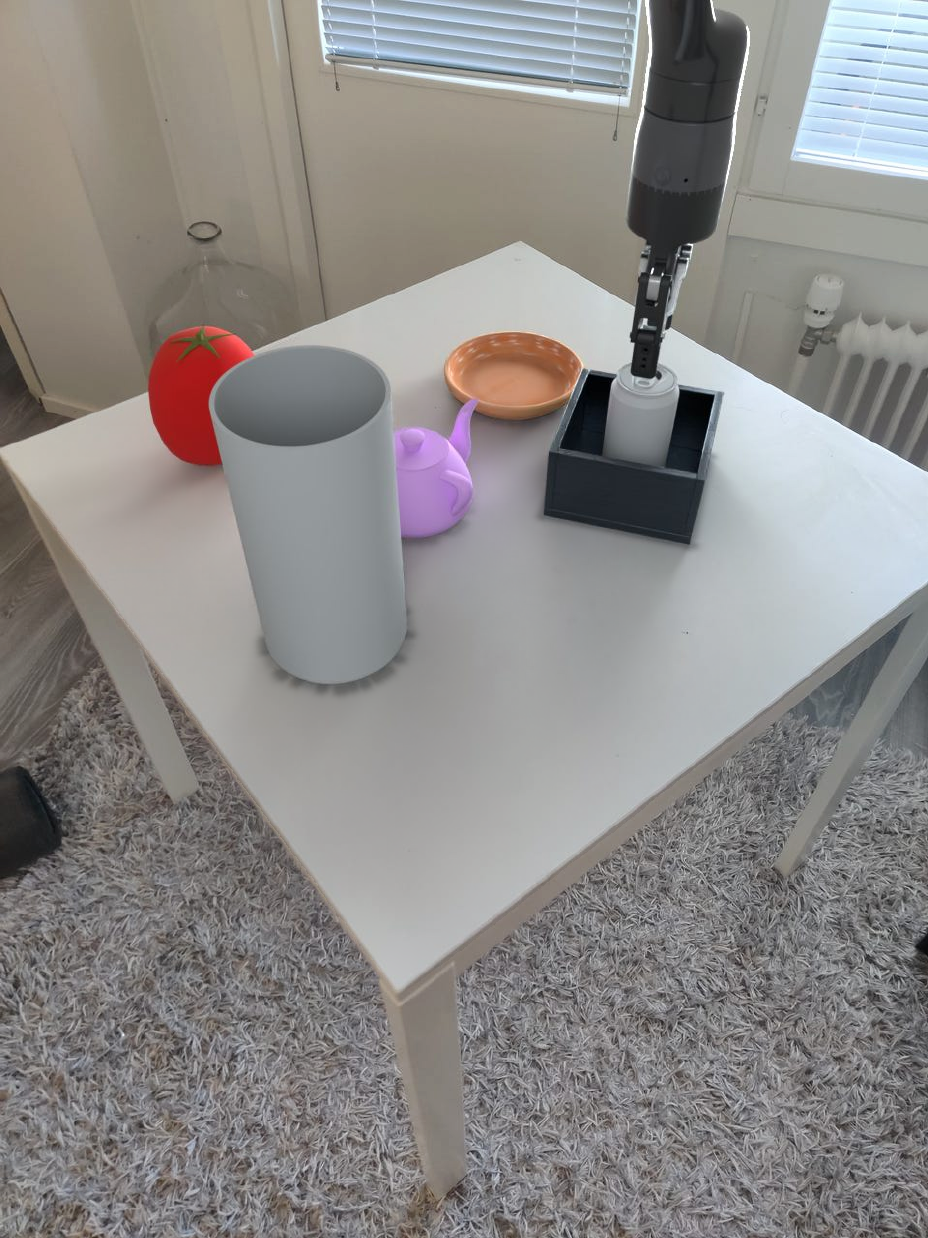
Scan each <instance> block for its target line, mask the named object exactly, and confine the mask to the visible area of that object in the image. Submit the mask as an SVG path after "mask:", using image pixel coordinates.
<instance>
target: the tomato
mask: <svg viewBox="0 0 928 1238" xmlns="http://www.w3.org/2000/svg"><path fill="white" fill-rule="evenodd" d="M255 355H256V354H255V353H254V352H253V351H252V349H251V348H250V346H248V344H247V343H245V341H244V340H242V339H241V338H240V337H239V336H237V334H236V333H231V332H229V331H227V330H225V329H222V328H218V327H215V326H210V325H209V326H207V325H205V324H203V325H202V326H194V327H190V328H186V329H183V330H179V331H176V332H175V333H173V334H172V335H170V336H169V337H168V338H167V339H166V340H165V341H164V342H163V343H162V344H161V345H160V346H159V348H158V350H157V351H156V354H155V356H154V358H153V361H152V364H151V366H150V370H149V374H148V384H147V394H148V402H149V412H150V415H151V419H152V423H153V425H154V427H155V429H156V431H157V433H158V435H159V437H160V439H161V442H163V444H164V445H165V446H166V448H167V449H168V451H169V452H170V453H171V454H172V455H173V456H175V457H177V459H179V460H180V461H181V462H184V463H187V464H191V465H196V466H206V467H207V466H210V467H211V466H217V465H223V464H222V460H221V456H220V452H219V447H218V443H217V439H216V435H215V431H214V427H213V423H212V418H211V414H210V410H209V398H210V394H211V391H212V389H213V387H214V385H215V384H216V382H217V381H218V380H219V379H220V378H221V377H222V376H223V375H224V374H225V373H226V372H227V371H228V370H229V369H231V368H232V367H234V366H235V365H237V364H238V363H240V362H242V361H244V360H246V359H248V358H250V357H253V356H255Z"/></svg>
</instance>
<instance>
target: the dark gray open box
mask: <svg viewBox="0 0 928 1238" xmlns="http://www.w3.org/2000/svg"><path fill="white" fill-rule="evenodd" d="M616 377H617V373H612V372H607V371H600V370H596V369H595V370H594V369H589V368H584V369H583V368H582V370H581V373H580V375H579V378H578V380H577V383H576V385H575V387H574V390H573V392H572V395H571V397H570V400H569V402H568V403H567V404H566V407H565V410H564V413H563V415H562V417H561V420H560V422H559V425H558V428H557V429H556V432H555V435H554V437H553V440H552V442H551V444H550V447H549V450H548V455H547V467H546V478H545V479H546V480H545V490H544V491H545V493H544V503H543V504H544V505H543V506H544V507H543V516H545V517H549V518H554V519H559V520H565V521H569V522H575V523H580V524H584V525H589V526H593V527H594V526H595V527H599V528H605V529H608V530H613V531H614V530H615V531H619V532H625V533H628V534H629V533H630V534H634V535H639V536H644V537H649V538H653V539H654V538H655V539H660V540H662V541H663V540H665V541H669V542H672V543H673V542H674V543H679V544H684V545H691V541H692V537H693V533H694V529H695V524H696V522H697V521H696V520H697V517H698V512H699V508H700V503H701V500H702V495H703V492H704V487H705V483H706V478H707V475H708V474H707V473H708V469H709V464H710V460H711V457H712V451H713V447H714V441H715V437H716V433H717V428H718V423H719V418H720V413H721V409H722V404H723V399H724V396H725V395H724V394H725V391H720V390H714V389H708V388H703V387H697V386H690V385H686V384H685V385H684V384H679V383H677V386H678V388H679V397H678V402H677V408H676V413H675V418H674V423H673V428H672V433H671V438H670V443H669V449H668V454H667V459H666V464H665V468H663V467H657V466H652V465H647V464H641V463H636V462H630V461H625V460H620V459H614V458H609V457H604V456H602V453H603V445H604V437H605V430H606V422H607V414H608V407H609V399H610V391H611V385H612V382H613V380H614V379H615V378H616Z"/></svg>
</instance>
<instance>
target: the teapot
mask: <svg viewBox="0 0 928 1238" xmlns="http://www.w3.org/2000/svg"><path fill="white" fill-rule="evenodd" d="M477 403H478V399H476V398H475V399H472V400H470V401H468V402H467V403H466V404H463V406H462V407H461V408H460V409H459V412H458V414H457V416H456V420H455V423H454V428H453V430H452V433H451V435H450V437H449V438H448V439H446V438H445V437H444V436H443V435H442V434H440V433H439V432H436V431H434V430H432V429H429V428H426V427H425V428H424V427H417V426H416V427H415V426H411V427H403V428H400V429H399V428H398V429H396V430H394V444H395V459H396V473H397V487H398V501H399V515H400V529H401V538H404V539H405V538H406V539H424V538H429V537H434V536H436V535H439V534H441V533H443V532H445V531H447V530H449V529H450V528H452V527H454V526H455V525H456V524H458V523H459V522H460V521H462V519H463V518H464V517H465V516H466V515H467V514H468V511H469V510H470V507H471V505H472V504H473V499H474V487H473V482H472V481H473V480H472V477H471V474H470V471H469V468H468V467H467V465H466V464H467V463H468V461H469V459H470V455H471V449H472V441H471V440H472V439H471V428H470V427H471V426H470V425H471V417H472V414H473V412H474V411H475V410H474V409H475V407H476V405H477Z"/></svg>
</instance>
